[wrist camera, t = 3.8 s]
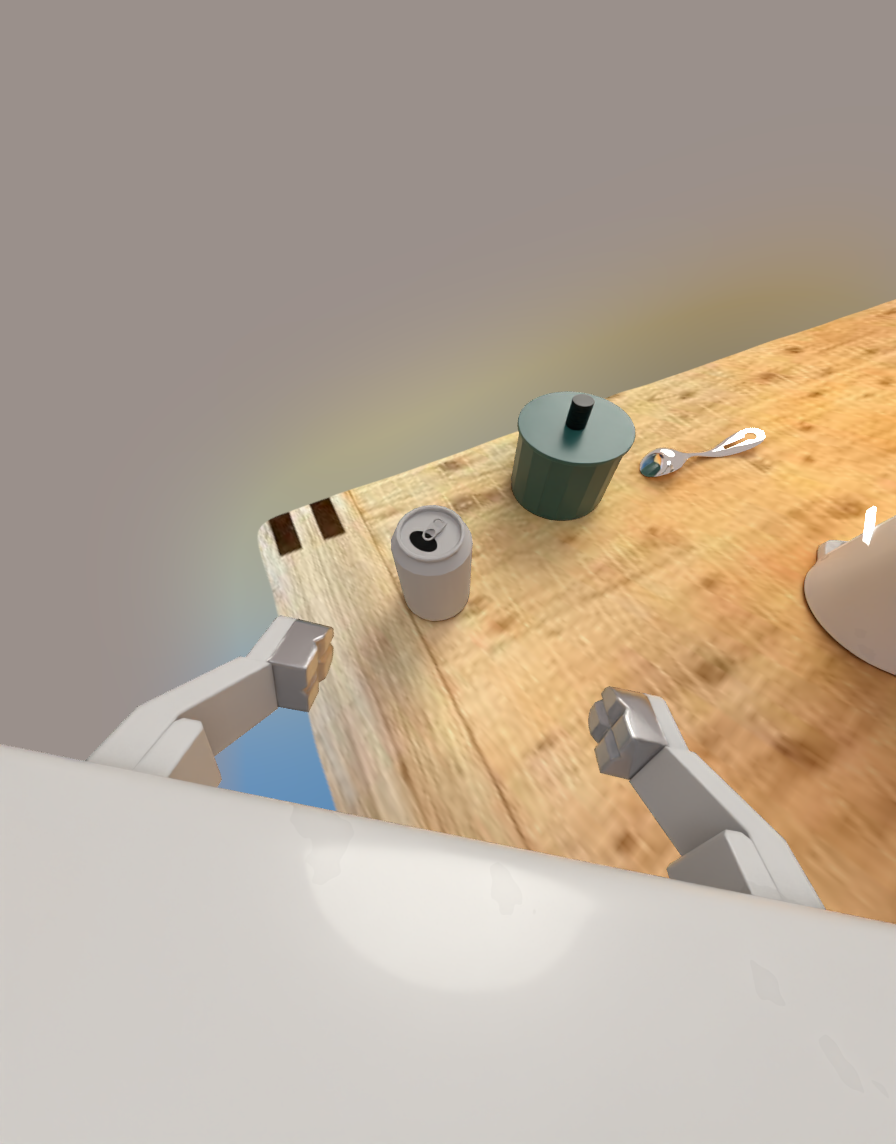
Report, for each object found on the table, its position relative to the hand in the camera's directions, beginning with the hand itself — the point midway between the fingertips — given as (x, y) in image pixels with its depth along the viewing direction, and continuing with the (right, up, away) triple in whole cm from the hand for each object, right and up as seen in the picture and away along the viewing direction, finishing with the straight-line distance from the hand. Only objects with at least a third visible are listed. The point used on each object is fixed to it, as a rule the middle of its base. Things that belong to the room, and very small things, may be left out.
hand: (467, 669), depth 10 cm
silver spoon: (+37, +20, +42) cm, 59 cm away
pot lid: (+14, +20, +31) cm, 40 cm away
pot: (+15, +15, +39) cm, 44 cm away
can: (-2, 0, +31) cm, 31 cm away
